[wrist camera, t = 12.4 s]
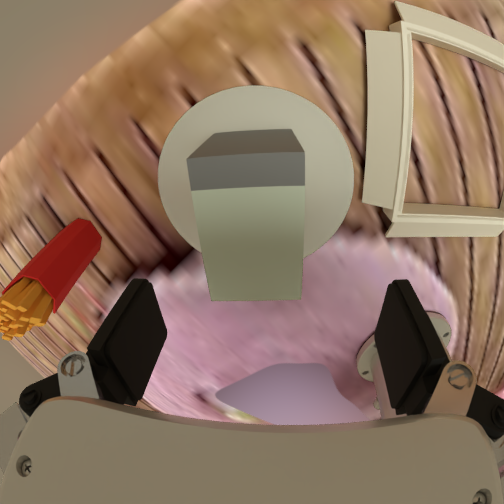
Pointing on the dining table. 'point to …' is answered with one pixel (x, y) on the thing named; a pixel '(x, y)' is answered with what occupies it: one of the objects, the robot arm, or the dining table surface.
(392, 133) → the beige square frame
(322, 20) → the dining table surface
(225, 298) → the block
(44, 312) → the french fries
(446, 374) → the robot arm
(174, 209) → the cream round plate
